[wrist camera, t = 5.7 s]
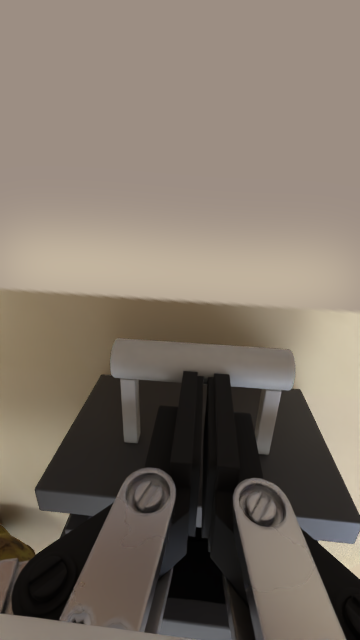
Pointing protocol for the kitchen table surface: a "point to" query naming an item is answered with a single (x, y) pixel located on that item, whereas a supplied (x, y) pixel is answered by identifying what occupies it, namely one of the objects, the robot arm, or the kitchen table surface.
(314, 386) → the kitchen table surface
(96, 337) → the kitchen table surface
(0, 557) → the potato
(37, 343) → the kitchen table surface
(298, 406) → the handled dark box
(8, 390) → the kitchen table surface
